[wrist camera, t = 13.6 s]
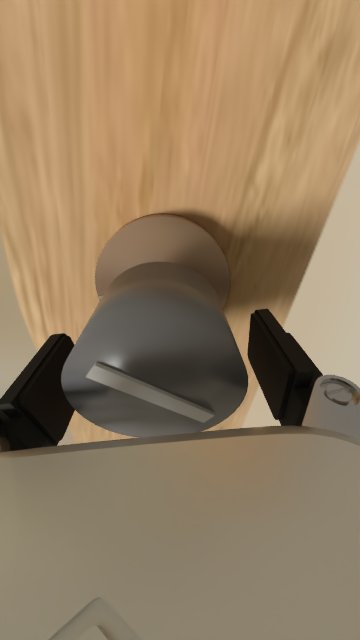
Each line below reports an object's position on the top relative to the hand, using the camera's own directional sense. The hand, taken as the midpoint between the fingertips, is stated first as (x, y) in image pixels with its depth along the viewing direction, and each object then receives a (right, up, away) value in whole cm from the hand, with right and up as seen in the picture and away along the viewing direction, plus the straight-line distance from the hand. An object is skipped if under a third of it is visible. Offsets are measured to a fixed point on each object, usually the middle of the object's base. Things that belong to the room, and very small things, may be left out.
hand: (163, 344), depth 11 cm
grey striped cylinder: (-1, +1, +1) cm, 2 cm away
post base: (0, +4, +5) cm, 7 cm away
